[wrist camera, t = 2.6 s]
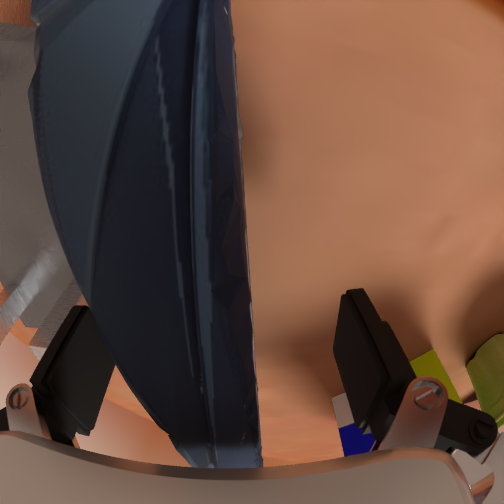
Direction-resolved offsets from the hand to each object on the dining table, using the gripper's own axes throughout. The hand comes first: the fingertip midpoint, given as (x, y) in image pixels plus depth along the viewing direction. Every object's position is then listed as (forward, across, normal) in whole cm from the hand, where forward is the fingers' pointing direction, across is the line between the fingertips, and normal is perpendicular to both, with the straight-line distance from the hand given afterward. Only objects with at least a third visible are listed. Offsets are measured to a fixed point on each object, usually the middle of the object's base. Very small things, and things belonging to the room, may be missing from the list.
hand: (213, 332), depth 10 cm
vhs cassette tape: (+6, 0, -1) cm, 6 cm away
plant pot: (+6, -27, +15) cm, 31 cm away
